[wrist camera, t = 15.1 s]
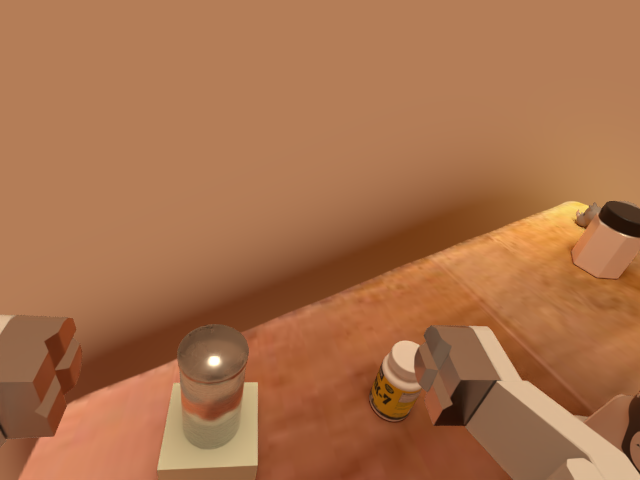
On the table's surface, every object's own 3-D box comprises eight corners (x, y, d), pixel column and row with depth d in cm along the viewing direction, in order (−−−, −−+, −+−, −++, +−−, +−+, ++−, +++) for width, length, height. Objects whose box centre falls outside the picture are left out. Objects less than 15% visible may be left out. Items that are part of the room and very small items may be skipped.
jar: (598, 253, 82) (635, 202, 75) (628, 280, 75) (670, 227, 68) (560, 250, 80) (593, 198, 73) (586, 278, 73) (626, 223, 67)
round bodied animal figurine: (579, 229, 95) (584, 194, 92) (643, 239, 86) (650, 200, 83) (568, 237, 90) (572, 200, 88) (633, 248, 82) (641, 207, 79)
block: (254, 405, 43) (257, 382, 40) (254, 487, 36) (257, 465, 34) (175, 406, 41) (173, 382, 39) (160, 492, 35) (157, 469, 32)
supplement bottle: (362, 387, 47) (380, 339, 42) (398, 381, 48) (420, 334, 43) (378, 426, 43) (400, 379, 38) (417, 419, 45) (443, 372, 40)
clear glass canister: (242, 395, 39) (249, 325, 33) (239, 450, 35) (247, 381, 29) (186, 395, 38) (183, 323, 32) (176, 451, 34) (171, 380, 28)
